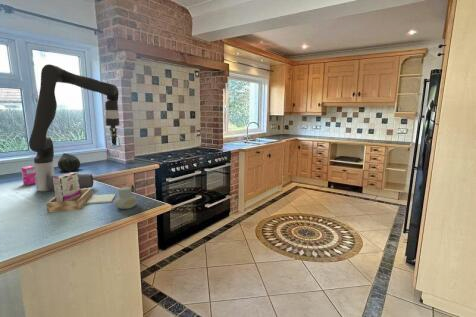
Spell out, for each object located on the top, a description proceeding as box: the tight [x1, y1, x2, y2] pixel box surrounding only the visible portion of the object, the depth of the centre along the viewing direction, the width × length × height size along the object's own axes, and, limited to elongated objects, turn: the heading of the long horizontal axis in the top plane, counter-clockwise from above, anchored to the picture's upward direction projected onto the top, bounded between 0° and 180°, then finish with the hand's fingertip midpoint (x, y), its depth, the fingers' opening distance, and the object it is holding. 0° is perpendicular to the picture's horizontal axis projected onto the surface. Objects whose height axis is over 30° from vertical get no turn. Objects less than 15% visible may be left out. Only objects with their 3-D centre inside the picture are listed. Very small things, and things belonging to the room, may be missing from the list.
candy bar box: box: [53, 171, 81, 202], centre depth 135 cm, size 11×5×16 cm, turn 168°
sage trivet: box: [86, 193, 116, 205], centre depth 145 cm, size 12×12×1 cm
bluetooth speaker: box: [47, 173, 94, 191], centre depth 160 cm, size 23×9×10 cm, turn 106°
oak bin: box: [45, 187, 93, 213], centre depth 139 cm, size 14×22×4 cm, turn 14°
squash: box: [57, 152, 81, 173], centre depth 212 cm, size 14×15×15 cm
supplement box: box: [20, 165, 36, 186], centre depth 173 cm, size 6×6×12 cm
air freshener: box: [113, 186, 138, 210], centre depth 134 cm, size 11×8×10 cm
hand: (114, 144), depth 163 cm, fingers open, 8 cm apart
